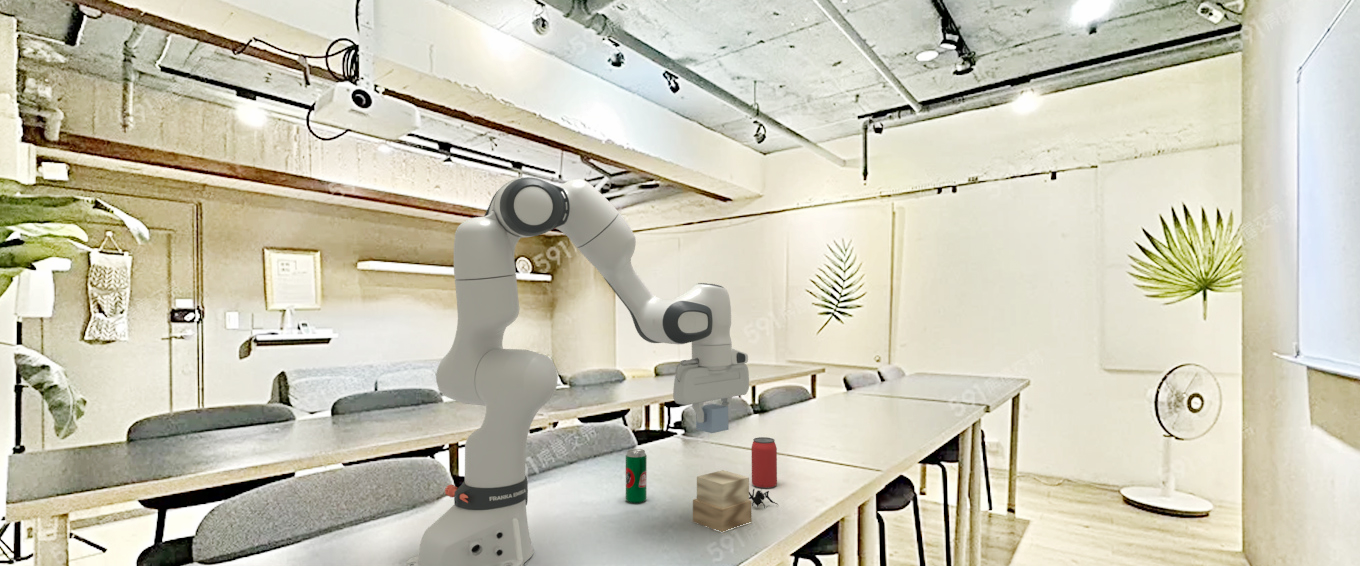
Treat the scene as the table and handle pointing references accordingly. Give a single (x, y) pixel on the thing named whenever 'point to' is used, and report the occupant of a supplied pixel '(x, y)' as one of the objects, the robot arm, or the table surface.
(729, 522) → the block lower
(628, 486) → the soda can
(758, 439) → the beer can
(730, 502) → the block upper
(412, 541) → the table surface
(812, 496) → the table surface
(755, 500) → the creature
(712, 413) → the blue gray block
